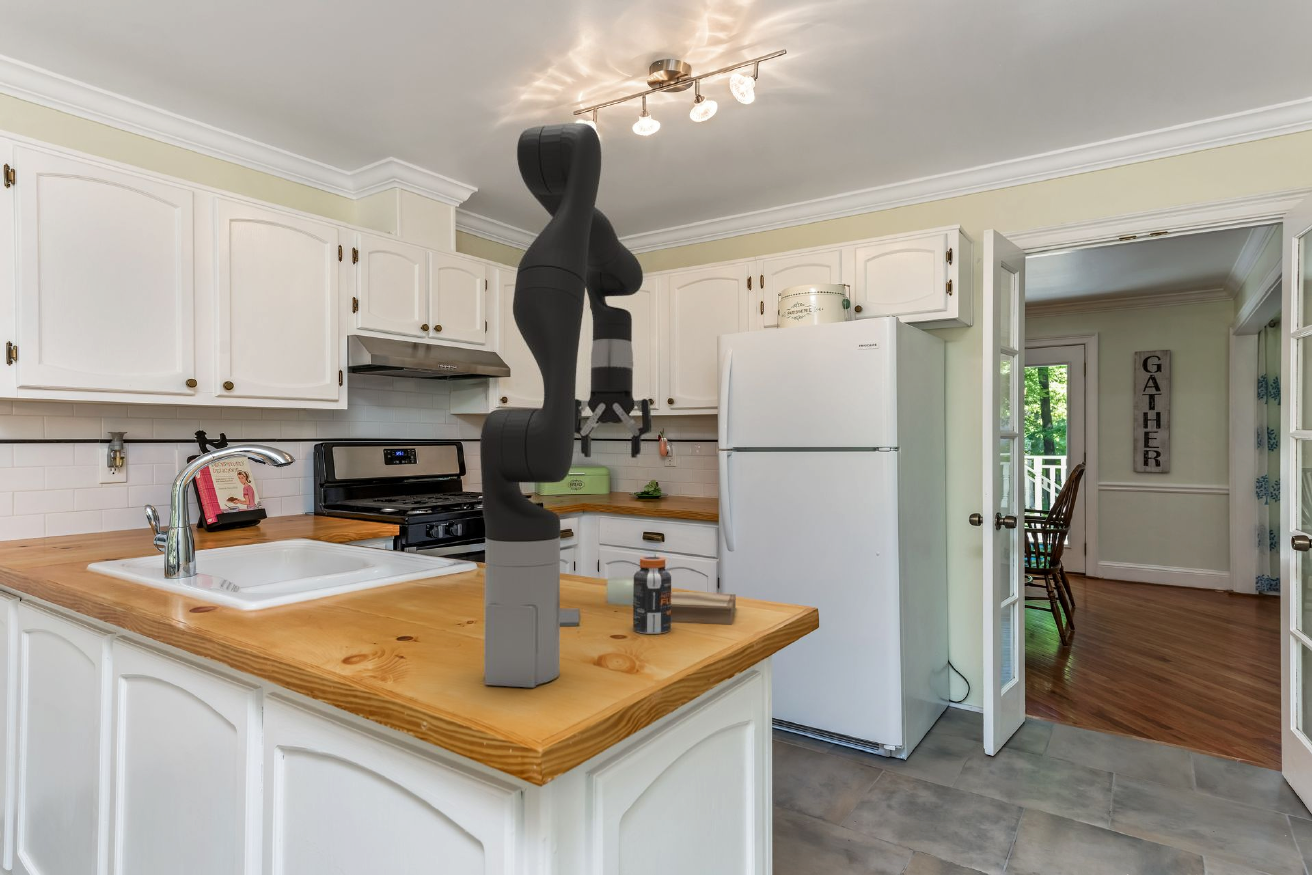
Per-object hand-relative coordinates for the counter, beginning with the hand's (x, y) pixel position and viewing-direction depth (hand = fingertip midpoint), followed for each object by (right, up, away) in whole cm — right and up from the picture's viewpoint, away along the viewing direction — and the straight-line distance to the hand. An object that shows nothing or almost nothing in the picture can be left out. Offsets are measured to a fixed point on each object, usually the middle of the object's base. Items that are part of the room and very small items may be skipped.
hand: (610, 457), depth 133 cm
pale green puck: (+3, -27, +5) cm, 28 cm away
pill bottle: (+7, -27, -17) cm, 32 cm away
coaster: (-10, -27, -10) cm, 30 cm away
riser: (+15, -27, -6) cm, 31 cm away
